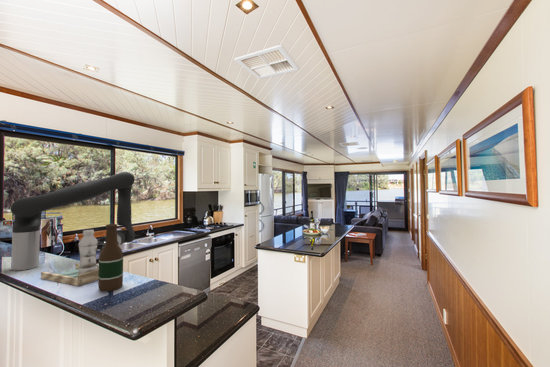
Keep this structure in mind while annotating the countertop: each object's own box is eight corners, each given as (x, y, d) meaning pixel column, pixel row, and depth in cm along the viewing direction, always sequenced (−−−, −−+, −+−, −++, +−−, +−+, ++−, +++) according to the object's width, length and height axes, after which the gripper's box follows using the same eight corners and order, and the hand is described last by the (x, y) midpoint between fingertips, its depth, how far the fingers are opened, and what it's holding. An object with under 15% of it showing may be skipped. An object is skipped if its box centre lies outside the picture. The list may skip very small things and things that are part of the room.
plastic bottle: (101, 275, 107) (102, 229, 107) (87, 281, 100) (88, 231, 101) (87, 275, 107) (88, 228, 108) (73, 280, 101) (74, 231, 101)
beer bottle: (127, 285, 96) (128, 223, 96) (108, 293, 88) (109, 226, 89) (112, 283, 98) (113, 222, 99) (92, 290, 91) (94, 225, 92)
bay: (40, 278, 103) (41, 268, 103) (77, 268, 116) (77, 259, 117) (79, 286, 95) (79, 275, 95) (113, 274, 108) (114, 265, 108)
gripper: (93, 235, 121) (72, 242, 105) (125, 234, 123) (109, 241, 107) (93, 250, 121) (72, 260, 105) (125, 249, 123) (109, 258, 107)
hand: (91, 250), depth 106 cm, fingers open, 8 cm apart
